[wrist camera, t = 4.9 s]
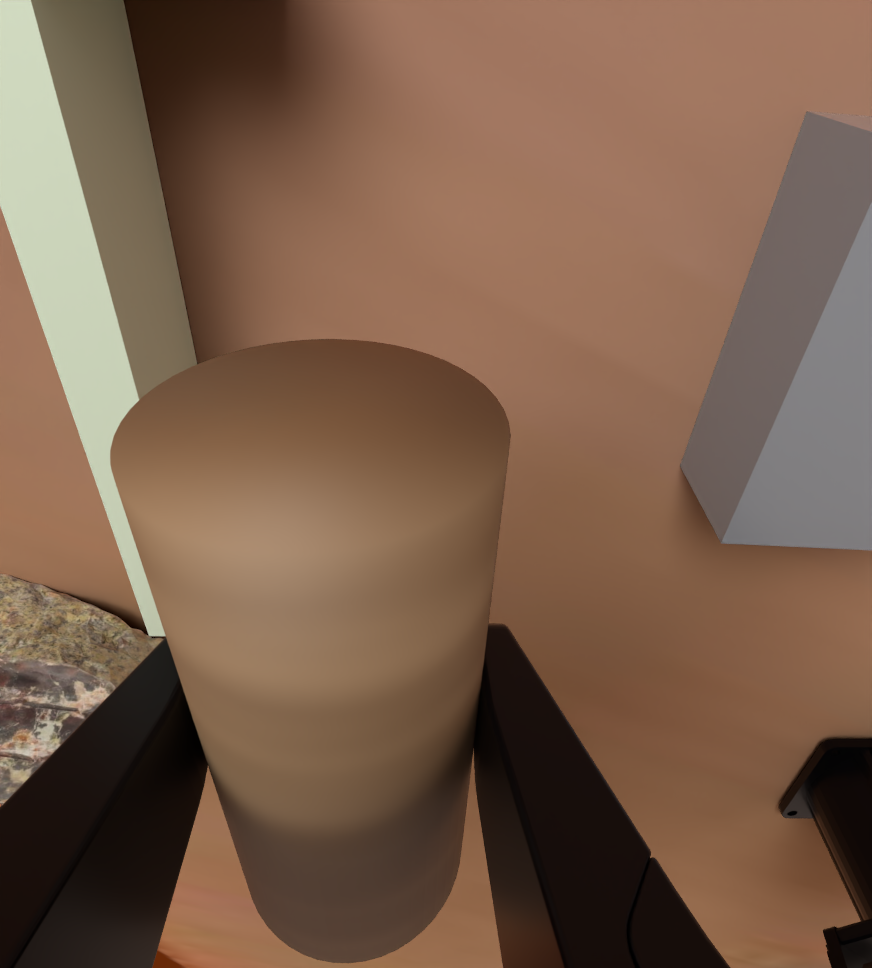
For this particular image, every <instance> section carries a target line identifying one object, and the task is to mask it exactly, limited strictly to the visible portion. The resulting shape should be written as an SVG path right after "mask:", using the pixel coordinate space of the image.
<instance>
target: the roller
mask: <svg viewBox="0 0 872 968" xmlns="http://www.w3.org/2000/svg"><path fill="white" fill-rule="evenodd" d="M510 436H511V435H510V428H509V422H508V419H507V416H506V414H505V411H504V409H503V407H502V406H501V404H500V403H499V401H498V399H497V398H496V397H495V396H494V395H493V393H492V392H491V391H490V390H489V389H488V388H487V387H486V386H485V385H484V384H482V383H481V382H480V381H479V380H477V379H476V378H475V377H474V376H472V375H470V374H469V373H467V372H466V371H464V370H463V369H461V368H459V367H457V366H455V365H453V364H451V363H449V362H447V361H445V360H442V359H439V358H437V357H434V356H432V355H429V354H426V353H423V352H419V351H416V350H413V349H409V348H404V347H400V346H395V345H390V344H384V343H377V342H369V341H359V340H341V339H317V340H300V341H289V342H281V343H273V344H267V345H262V346H257V347H251V348H247V349H243V350H239V351H235V352H231V353H228V354H225V355H222V356H219V357H215V358H212V359H209V360H207V361H204V362H202V363H199V364H197V365H194V366H192V367H190V368H188V369H186V370H184V371H182V372H180V373H178V374H176V375H174V376H172V377H170V378H169V379H167V380H166V381H164V382H162V383H161V384H159V385H157V386H156V387H155V388H153V389H152V390H151V391H150V392H148V393H147V394H146V395H144V396H143V397H142V398H141V399H140V400H139V401H138V402H137V403H136V404H135V405H134V406H133V407H132V408H131V409H130V410H129V411H128V413H127V414H126V415H125V417H124V418H123V419H122V421H121V422H120V424H119V426H118V428H117V430H116V432H115V434H114V437H113V441H112V445H111V449H110V466H111V470H112V473H113V477H114V480H115V483H116V486H117V489H118V493H119V496H120V499H121V502H122V505H123V508H124V511H125V514H126V517H127V520H128V523H129V526H130V529H131V532H132V535H133V538H134V541H135V544H136V547H137V550H138V553H139V556H140V559H141V562H142V565H143V569H144V572H145V575H146V578H147V581H148V584H149V587H150V590H151V593H152V596H153V599H154V602H155V605H156V608H157V611H158V614H159V617H160V620H161V623H162V626H163V629H164V632H165V635H166V638H167V642H168V645H169V648H170V651H171V654H172V657H173V660H174V663H175V666H176V669H177V672H178V675H179V678H180V681H181V684H182V687H183V690H184V693H185V696H186V699H187V702H188V705H189V708H190V711H191V714H192V718H193V721H194V724H195V727H196V730H197V733H198V736H199V739H200V742H201V745H202V748H203V751H204V754H205V757H206V760H207V763H208V766H209V769H210V772H211V775H212V778H213V781H214V784H215V787H216V791H217V794H218V797H219V800H220V803H221V806H222V809H223V812H224V815H225V818H226V821H227V824H228V827H229V830H230V833H231V836H232V839H233V842H234V845H235V848H236V851H237V854H238V857H239V860H240V863H241V867H242V870H243V873H244V876H245V879H246V882H247V885H248V888H249V891H250V894H251V897H252V900H253V902H254V904H255V906H256V908H257V911H258V913H259V914H260V916H261V917H262V919H263V920H264V922H265V923H266V925H267V926H268V927H269V929H270V930H271V931H272V932H273V933H274V934H275V935H276V936H277V937H278V938H279V939H280V940H282V941H283V942H284V943H285V944H287V945H288V946H289V947H291V948H293V949H294V950H296V951H298V952H300V953H302V954H304V955H306V956H309V957H312V958H315V959H317V960H322V961H328V962H333V963H354V962H362V961H368V960H371V959H375V958H378V957H382V956H384V955H386V954H388V953H391V952H393V951H395V950H397V949H399V948H400V947H402V946H404V945H405V944H407V943H408V942H410V941H411V940H412V939H414V938H415V937H416V936H417V935H418V934H420V933H421V932H422V931H423V930H424V929H425V928H426V927H427V926H428V925H429V924H430V923H431V922H432V920H433V919H434V918H435V917H436V915H437V914H438V912H439V911H440V910H441V908H442V907H443V905H444V903H445V902H446V900H447V898H448V896H449V894H450V892H451V890H452V887H453V884H454V882H455V879H456V876H457V872H458V868H459V864H460V857H461V848H462V840H463V832H464V823H465V815H466V806H467V798H468V790H469V781H470V773H471V765H472V756H473V748H474V739H475V731H476V723H477V714H478V706H479V697H480V689H481V681H482V672H483V664H484V656H485V647H486V639H487V630H488V622H489V614H490V605H491V597H492V589H493V580H494V572H495V563H496V555H497V547H498V538H499V530H500V522H501V513H502V505H503V496H504V488H505V480H506V471H507V463H508V455H509V446H510Z"/></svg>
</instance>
